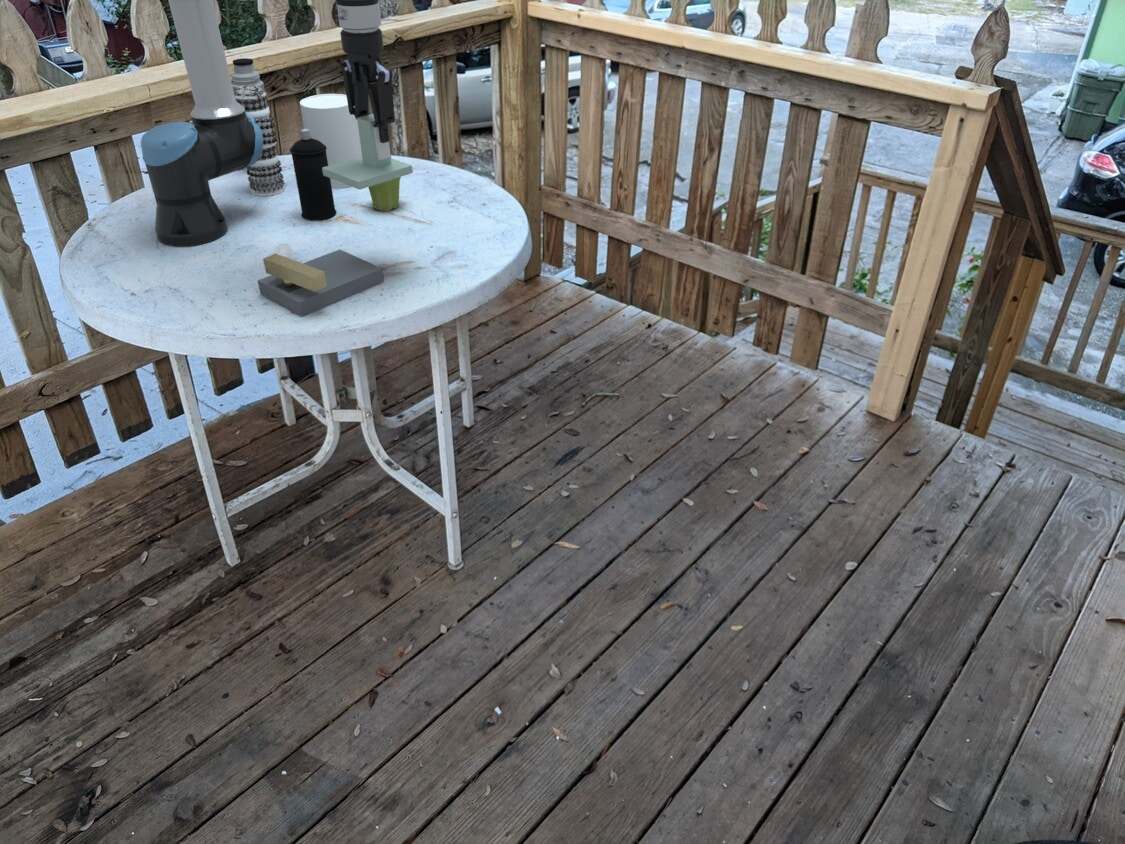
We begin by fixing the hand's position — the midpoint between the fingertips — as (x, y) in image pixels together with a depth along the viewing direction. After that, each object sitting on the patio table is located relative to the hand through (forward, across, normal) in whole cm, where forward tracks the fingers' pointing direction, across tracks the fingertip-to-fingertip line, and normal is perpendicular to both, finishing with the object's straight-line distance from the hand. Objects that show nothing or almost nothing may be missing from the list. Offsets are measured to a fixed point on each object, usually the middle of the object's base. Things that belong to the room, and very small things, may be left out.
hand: (376, 155), depth 170 cm
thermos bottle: (+23, -71, +13) cm, 76 cm away
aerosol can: (+23, -34, +5) cm, 41 cm away
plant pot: (+23, -26, +19) cm, 40 cm away
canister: (+23, -50, +22) cm, 60 cm away
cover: (+3, 0, -2) cm, 4 cm away
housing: (+23, 0, -17) cm, 29 cm away
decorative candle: (+23, -57, +5) cm, 61 cm away
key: (+20, +2, -24) cm, 31 cm away
